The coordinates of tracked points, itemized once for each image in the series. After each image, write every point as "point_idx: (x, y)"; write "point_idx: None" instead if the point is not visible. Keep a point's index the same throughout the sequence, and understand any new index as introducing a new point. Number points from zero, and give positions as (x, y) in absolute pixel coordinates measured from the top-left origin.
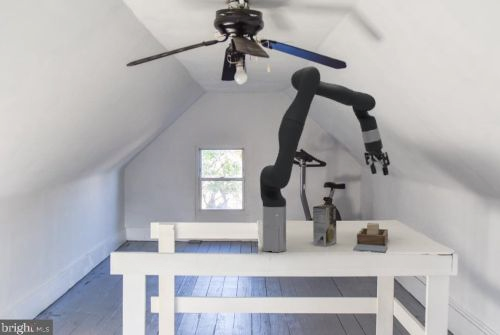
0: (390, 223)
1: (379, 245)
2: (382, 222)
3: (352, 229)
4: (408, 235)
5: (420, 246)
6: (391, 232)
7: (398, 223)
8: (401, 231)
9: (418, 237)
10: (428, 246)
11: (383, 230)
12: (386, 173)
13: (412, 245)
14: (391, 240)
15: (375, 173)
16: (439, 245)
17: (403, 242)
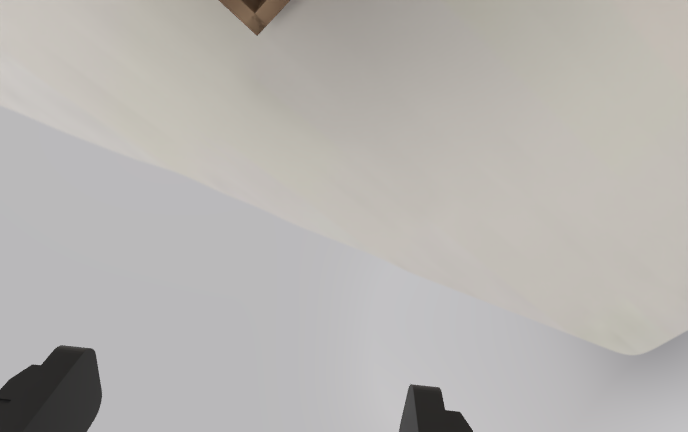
0: (606, 318)
1: None
2: (651, 313)
3: (663, 70)
4: (331, 187)
5: (36, 25)
6: (437, 181)
7: (579, 336)
8: (430, 230)
9: (270, 187)
10: (36, 62)
11: (263, 2)
12: (23, 384)
13: (68, 7)
14: None
15: (402, 416)
16: (61, 125)
17: (164, 29)
